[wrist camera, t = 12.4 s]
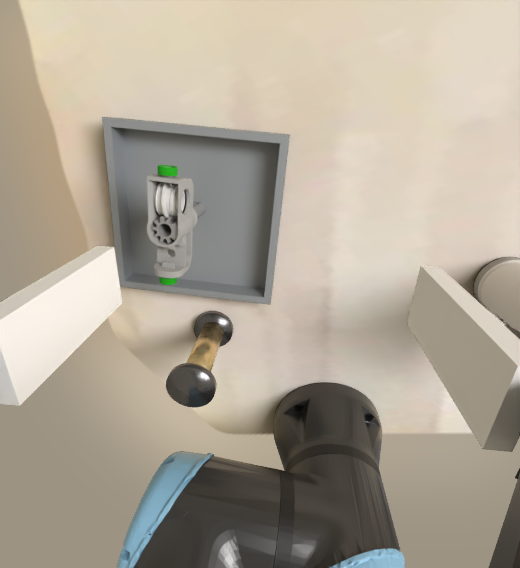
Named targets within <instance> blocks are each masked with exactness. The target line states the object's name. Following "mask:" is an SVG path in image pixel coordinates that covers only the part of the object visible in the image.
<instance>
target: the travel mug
mask: <svg viewBox="0 0 520 568" xmlns="http://www.w3.org/2000/svg"><path fill="white" fill-rule="evenodd" d="M474 293H475V296H476V297H477V299H478V300H479V301H480V302H481V303H482V304H483V305H484V306H486V307H487V308H488V309H489V310H490V311H491V312H492V313H493V314H494V315H495V316H496V317H497V318H499V319H500V320H501V321H502V322H503V323H504V324H505V325H508V326H510V327H512V328H514V329H516V330H517V331H519V332H520V258H517V257H504V258H500V259H497V260H495V261H493V262H491V263H489V264H488V265H486V266H485V267H484V268H483V269H482V270H481V271H480V272H479V274H478V275H477V277H476V279H475V282H474Z"/></svg>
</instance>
